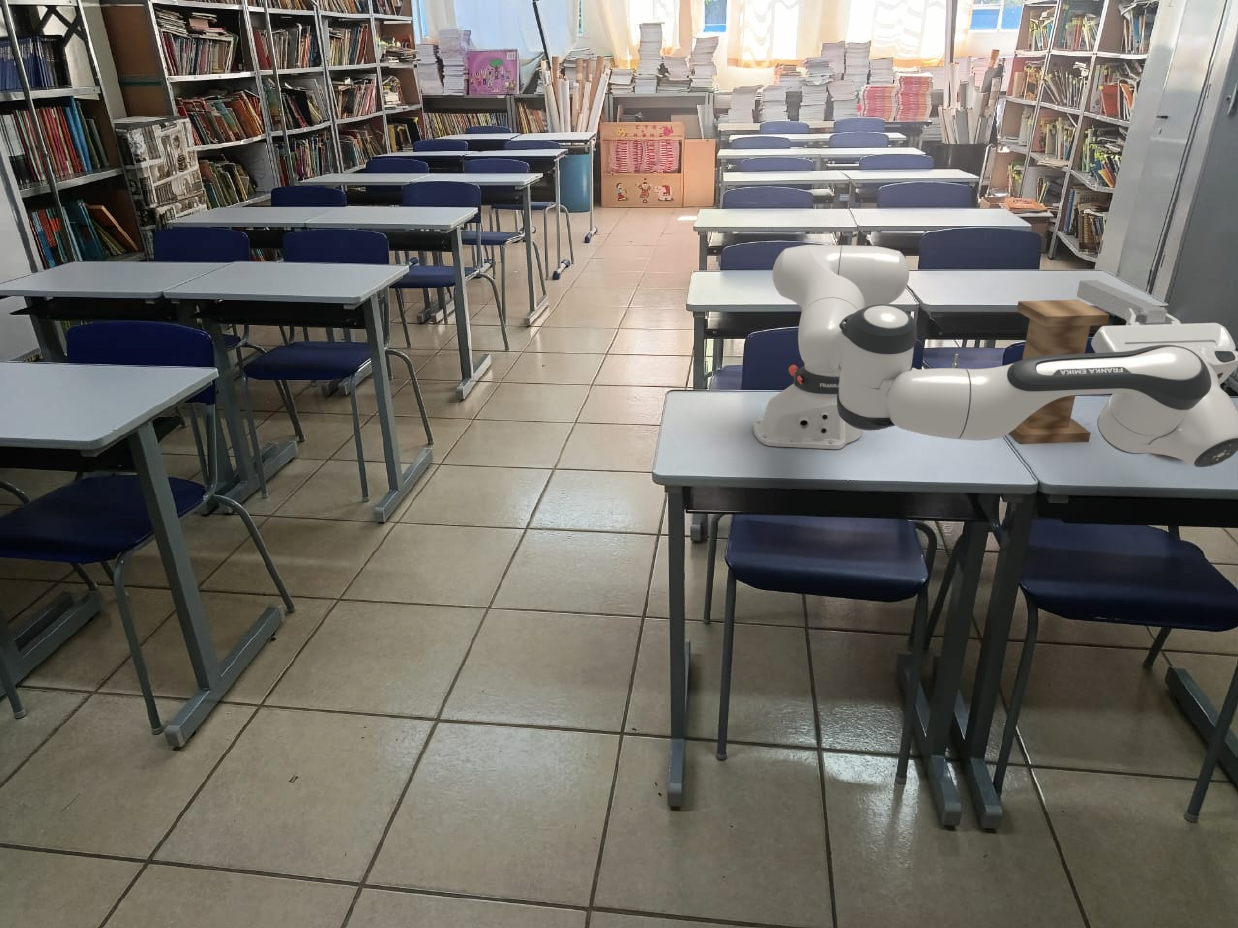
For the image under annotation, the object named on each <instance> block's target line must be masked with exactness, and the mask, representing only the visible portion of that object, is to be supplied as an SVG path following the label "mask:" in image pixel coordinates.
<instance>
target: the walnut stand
mask: <svg viewBox="0 0 1238 928" xmlns="http://www.w3.org/2000/svg"><path fill="white" fill-rule="evenodd" d="M1016 312H1018V313H1020V314H1021V315H1023V316H1024V317H1027V318H1028V319H1029V322H1028V327H1027V328H1028V329H1027V333H1026V339H1025V344H1024V348H1023V354H1022V358H1021V360H1023V359H1027V358H1031V357H1039V356H1050V355H1066V354H1086V349H1087V348H1086V347H1087V343H1088V339H1089V336H1090V335H1089V334H1090V330H1091V326H1108V323H1109V319H1110V314H1109V313H1106V312H1104V311H1103V310H1102V309H1099V308H1096V307H1094V306H1092V305H1090V304H1088V303H1087V302H1083V301H1082V300H1080V299H1053V300H1049V299H1048V300H1047V299H1045V300H1018V302H1017V307H1016ZM1075 400H1076V395H1070V396H1065V397H1062V398H1059V399H1056V400H1054V401H1052V402H1050V403H1048V404H1046V405H1045V406H1043V407H1041V408H1040V409H1039V410H1037V411H1036V412H1034V413H1033V414H1032V415H1030V416H1029V417H1028V418H1027V419H1026V420H1024V421H1023V422H1022V423H1021V424H1020V425H1019V426H1018V427H1017V428H1015V429H1014V430H1013V431H1011V432H1010V433H1008V434H1007V435H1009V436H1010V437H1011V438H1012V439H1013V440H1015V442H1016V443H1018V444H1020V445H1021V444H1022V445H1024V444H1027V445H1028V444H1056V443H1057V444H1061V443H1063V444H1065V443H1089V442H1090V437H1091V431H1089V430H1088V429H1087V428H1085V427H1084V426H1082V425H1081V424H1080V423H1078V421H1075V419H1073V418H1072V412H1073V408H1074V405H1075V403H1074V402H1075Z"/></svg>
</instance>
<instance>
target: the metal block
mask: <svg viewBox="0 0 1238 928" xmlns="http://www.w3.org/2000/svg"><path fill="white" fill-rule="evenodd" d="M1078 283H1079V284H1078V289H1077V292H1076V297H1077V298H1079V299H1081V300H1083V301H1085V302H1086V303H1087V302H1088V303H1089V304H1091V305H1094V306H1096V307H1098V308H1100V309H1101V310H1104V311H1107V312H1109V313H1110V314H1113V315H1114V316H1117V317H1118V318H1121V319H1124V320H1125V318H1124V313H1125V312H1126V310H1127V309H1131V308H1137V309H1138V311H1139V312H1140V314H1141V315H1140V317H1139V318H1138V320H1137V321H1136V322H1139V324H1140V325H1158V324H1164V322H1165V318H1166V314H1167V313H1168V309H1166V308H1165V307H1162V306H1159V305H1156V304H1153V303H1152V302H1149V301H1147V300H1144V299H1142V298H1139V297H1137V296H1135V295H1133V294H1130V293H1128V292H1126V291H1123V290H1121V289H1118V288H1116V287H1114V286H1111V285H1108V284H1106V283H1104V282H1101V281H1099V280H1097V279H1094V280H1092V279H1091V280H1090V279H1089V280H1079V282H1078ZM1164 308H1165V309H1164Z"/></svg>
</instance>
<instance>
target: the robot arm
mask: <svg viewBox="0 0 1238 928" xmlns="http://www.w3.org/2000/svg"><path fill="white" fill-rule="evenodd" d="M909 278H910V266H909V264H908V261H907V258H906V257H905V255H904V254H903V253H902V252H901V250H895V249H893V248H888V247H883V246H877V245H850V244H849V245H844V244H843V245H839V244H837V245H836V244H806V245H805V244H803V245H799V246H798V245H797V246H792V247H786V248H784V249H783V250H782V251H781V252H780V254H779V255H778V256H777V258H776V259H775V262H774V265H773V267H772V281H773V285H774V287H775V290H776V291H777V293H778V294H779V295H780V296H781V297H782V298H785V299H788V300H790V301H792V302H793V303H795V304H797V305H798V306H799V307H800V308H801V313H800V318H799V324H798V331H797V332H798V334H797V335H798V336H797V340H798V341H797V343H798V352H799V354H800V358H801V360H802V361H803V363H804V365H802V367H800V368H799V367H798V366H797V365H795V364H792V365H790V366H789V367H788V373H789V374H790V375H791V377H793V383H792V384H791V385H790V386H788V387H787V388H785V389H784V390H782V391H781V392H779V393H777V394H776V395H774V396H773V397H771V398H770V399H769V400H768V401H767V405H766V406H765V411H764V416H762V417H761V416H760V417H757V418H756V419H755V420H754V422H753V424H752V425H753V426H752V431H753V435H754V436H755V438H756V439H757V440H758V441H759V442H760V443H762V444H764V445H766V446H768V447H782V448H783V447H784V448H801V449H802V448H803V449H823V450H824V449H825V450H840V449H843V448H844V447H845V446H846V445H847V444H850V443H852V442H854V441H857V440H858V439H859V438H861V436H862V431H878V430H879V431H880V430H881V431H882V430H885V429H888V428H891V427H895V426H896V427H898V428H899V429H900V430H905V431H908V432H911V433H912V432H913V433H916V434H920V435H925V436H930V437H936V438H942V439H951V440H964V441H976V442H977V441H989V440H994V439H1000V438H1002V437H1004V436H1006V435H1009V434H1008V433H1010V432H1011V431H1013V430H1014V429H1015V428H1017V427H1018V426H1019V425H1020V424H1021V423H1022V422H1023V421H1024V420H1026V419H1027V418H1028V417H1029V416H1030V415H1032V414H1033V413H1034V412H1036V411H1037V410H1039V409H1040V408H1041V407H1043V406H1045V405H1046V404H1048V403H1050V402H1052V401H1054V400H1056V399H1059V398H1062V397H1065V396H1070V395H1075V396H1081V395H1083V396H1084V395H1086V396H1087V395H1088V396H1089V395H1109V394H1110V395H1111V394H1112V395H1111V396H1110V397H1109V399H1108V400H1107V402H1106V404H1105V405H1104V407H1102V410H1101V412H1100V414H1099V415H1098V417H1097V421H1096V422H1097V423H1096V424H1097V429H1098V432H1099V434H1100V435H1101V437H1102V438H1103V440H1104V441H1105V442H1106V443H1108V445H1110V446H1111V447H1112V448H1114V449H1115V450H1118V451H1119V452H1122V453H1125V454H1130V455H1144V454H1151V453H1155V454H1158V455H1162V456H1168V457H1173V458H1177V459H1179V460H1181V461H1183V462H1185V463H1186V464H1188V465H1190V466H1192V467H1194V468H1206V467H1211V466H1212V467H1213V466H1215V465H1218V464H1220V463H1223V462H1225V461H1226V460H1227V459H1230V458H1232V457H1233V455H1235V454H1236V453H1237V452H1238V410H1237V408H1236V406H1235V404H1234V402H1233V400H1232V399H1231V397H1230V396H1229V394H1228V393H1227V392H1225V391H1224V390H1223V389H1222V388H1221V384H1223V383H1224V382H1225V381H1226V380H1227V379H1228V378H1229V376H1230V375H1231V374H1232V373H1234V371H1235V370H1236V369H1237V367H1238V351H1236V344H1235V341H1234V340H1233V337H1232V336H1231V334H1230V333H1229V331H1228V330H1227V328H1226V327H1225V326H1223V325H1222V324H1220V323H1217V322H1204V323H1203V322H1202V323H1201V322H1200V323H1197V322H1196V323H1195V322H1194V323H1181V321H1180V319H1177V318H1176V317H1174V316H1173V315H1171V314H1169V313H1168V312H1167V314H1166V318H1165V322H1164V324H1158V325H1140V324H1139V322H1136V321H1137V320H1138V318H1139V317H1140V315H1141V314H1140V312H1139V311H1138V309H1137V308H1131V309H1127V310H1126V312H1125V313H1124V318H1125V319H1124V321H1126V323H1125V325H1123V324H1122V325H1101V327H1099V329H1098V330H1097V331H1096V333H1095V334H1094V335H1093V337H1092V339H1091V341H1090V343H1091V344H1090V345H1091V347H1092V349H1093V351H1094V353H1093V352H1092V353H1089V352H1088V353H1085V354H1066V355H1050V356H1039V357H1031V358H1027V359H1023V358H1022V359H1023V360H1022V359H1021V360H1019V361H1015V362H1013V363H1009V364H1006V365H1000V366H995V367H986V368H952V367H951V368H950V367H946V368H945V367H944V368H943V367H939V368H936V367H935V368H924V369H923V368H921V369H917V368H915V367H912V366H913V365H912V364H913V359H914V358H913V357H914V351H915V350H914V348H915V346H916V343H917V340H918V338H917V333H918V331H917V323H916V320H915V318H914V317H913V316H912V315H911V314H910V313H909V312H907V310H905V309H904V308H902V307H898V306H897V305H896V306H895V305H892V304H891V303H893V302H895V301H896V300H897V299H898V298H900V297H901V296H902V294H904V292H905V290H906V288H907V285H908V284H909ZM1163 308H1164V309H1166V308H1165V307H1163Z"/></svg>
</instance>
